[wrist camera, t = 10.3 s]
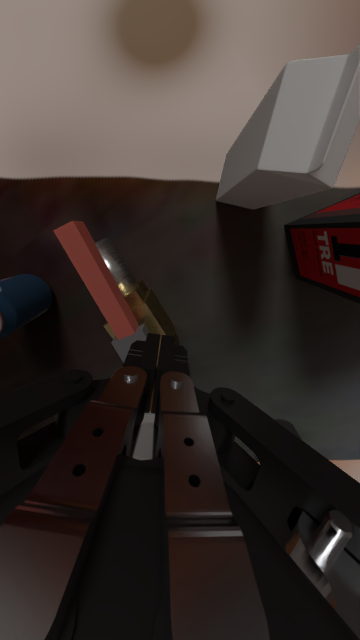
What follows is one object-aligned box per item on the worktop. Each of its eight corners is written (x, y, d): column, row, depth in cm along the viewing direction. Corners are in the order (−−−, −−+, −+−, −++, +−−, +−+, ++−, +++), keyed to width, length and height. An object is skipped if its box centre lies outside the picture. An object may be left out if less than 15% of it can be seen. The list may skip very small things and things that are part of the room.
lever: (159, 348, 32) (157, 358, 30) (131, 358, 33) (127, 369, 30) (90, 217, 26) (81, 216, 23) (58, 234, 27) (45, 234, 24)
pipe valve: (192, 356, 43) (196, 387, 35) (161, 371, 45) (157, 405, 36) (117, 233, 35) (97, 234, 27) (81, 256, 36) (51, 264, 28)
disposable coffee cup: (186, 402, 48) (189, 454, 36) (144, 416, 49) (135, 471, 38) (168, 366, 44) (165, 412, 33) (124, 381, 45) (107, 431, 34)
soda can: (18, 265, 37) (-51, 280, 26) (60, 283, 38) (12, 305, 27) (10, 302, 39) (-56, 331, 28) (50, 318, 40) (2, 352, 29)
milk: (215, 201, 34) (271, 157, 13) (226, 153, 32) (313, 13, 11) (254, 210, 34) (365, 181, 14) (268, 163, 32) (423, 48, 12)
